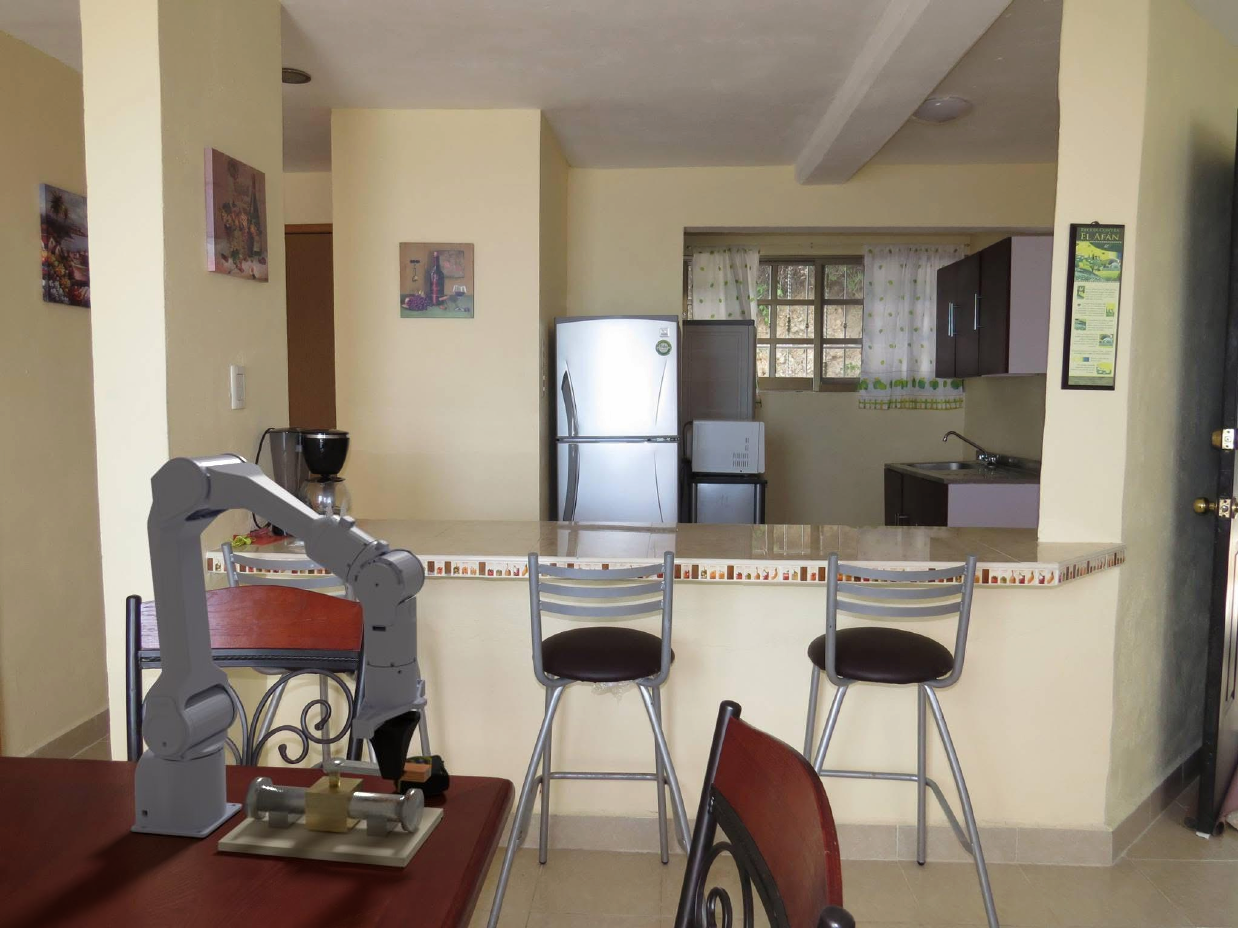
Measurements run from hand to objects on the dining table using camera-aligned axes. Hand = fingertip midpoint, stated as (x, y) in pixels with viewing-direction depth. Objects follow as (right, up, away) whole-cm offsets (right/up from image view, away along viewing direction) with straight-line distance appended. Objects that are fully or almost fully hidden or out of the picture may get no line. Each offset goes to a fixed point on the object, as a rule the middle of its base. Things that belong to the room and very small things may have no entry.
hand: (392, 778), depth 101 cm
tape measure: (0, -7, +16) cm, 17 cm away
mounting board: (-7, -8, +4) cm, 11 cm away
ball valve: (-7, -8, +4) cm, 11 cm away
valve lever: (-2, 0, +2) cm, 3 cm away
